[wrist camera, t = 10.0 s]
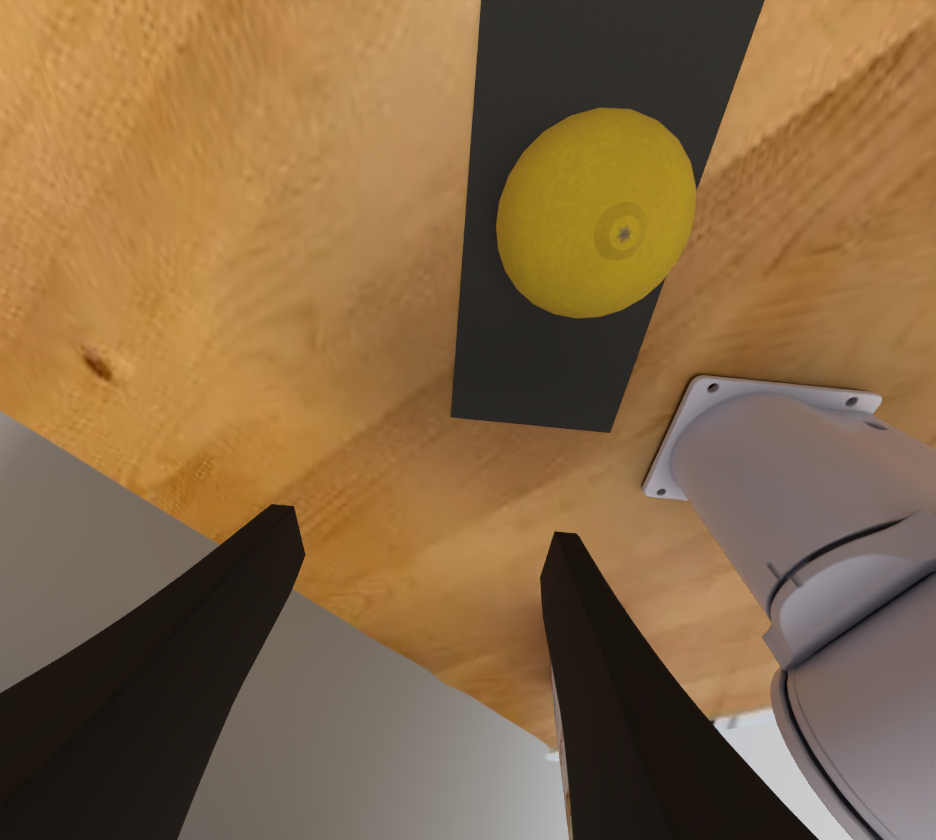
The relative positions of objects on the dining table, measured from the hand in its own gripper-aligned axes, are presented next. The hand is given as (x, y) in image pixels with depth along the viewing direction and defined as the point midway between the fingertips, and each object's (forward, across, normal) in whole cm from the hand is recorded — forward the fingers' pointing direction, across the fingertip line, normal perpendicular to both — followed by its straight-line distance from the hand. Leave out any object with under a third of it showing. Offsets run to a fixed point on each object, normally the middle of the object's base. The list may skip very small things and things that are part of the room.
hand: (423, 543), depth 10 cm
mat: (+10, -4, -8) cm, 14 cm away
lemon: (+10, -4, -8) cm, 14 cm away
